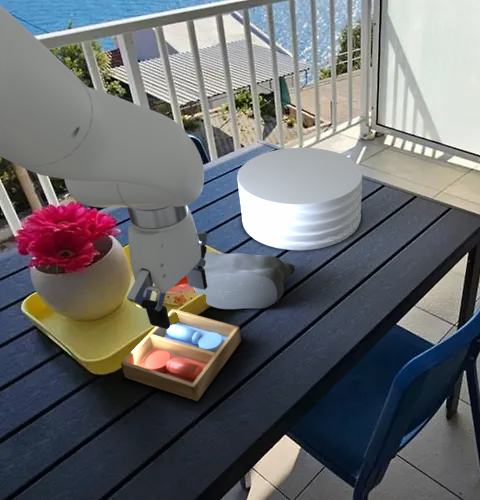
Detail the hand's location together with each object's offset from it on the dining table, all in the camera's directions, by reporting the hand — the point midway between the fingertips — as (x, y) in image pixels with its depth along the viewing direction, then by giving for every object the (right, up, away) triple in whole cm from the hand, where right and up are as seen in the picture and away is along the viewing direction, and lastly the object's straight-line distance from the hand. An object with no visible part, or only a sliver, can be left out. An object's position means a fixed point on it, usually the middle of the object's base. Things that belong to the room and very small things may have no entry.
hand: (180, 305), depth 77 cm
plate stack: (+15, +16, +42) cm, 48 cm away
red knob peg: (-1, -11, +2) cm, 11 cm away
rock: (+5, +1, +20) cm, 21 cm away
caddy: (-1, -9, +6) cm, 11 cm away
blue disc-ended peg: (0, -7, +8) cm, 10 cm away
